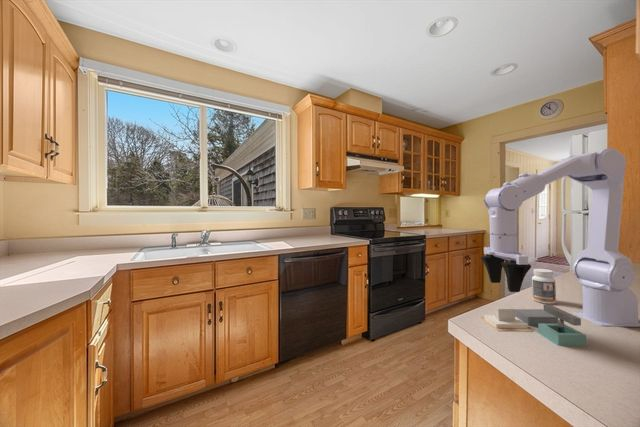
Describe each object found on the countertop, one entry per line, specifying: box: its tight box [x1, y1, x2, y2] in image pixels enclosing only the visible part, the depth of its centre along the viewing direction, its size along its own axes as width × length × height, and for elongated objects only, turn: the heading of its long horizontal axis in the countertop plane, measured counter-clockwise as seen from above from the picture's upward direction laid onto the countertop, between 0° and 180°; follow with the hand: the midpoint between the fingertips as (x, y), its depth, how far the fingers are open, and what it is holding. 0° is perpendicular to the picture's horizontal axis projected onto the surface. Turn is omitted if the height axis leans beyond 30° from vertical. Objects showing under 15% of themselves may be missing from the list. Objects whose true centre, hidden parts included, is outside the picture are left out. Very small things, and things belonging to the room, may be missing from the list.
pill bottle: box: [531, 268, 557, 305], centre depth 81 cm, size 6×6×10 cm
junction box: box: [514, 308, 558, 327], centre depth 67 cm, size 7×5×2 cm
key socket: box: [536, 323, 589, 347], centre depth 58 cm, size 6×6×2 cm
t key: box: [543, 303, 582, 333], centre depth 58 cm, size 8×2×6 cm, turn 175°
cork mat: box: [480, 316, 534, 332], centre depth 66 cm, size 8×8×1 cm
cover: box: [483, 306, 529, 328], centre depth 66 cm, size 7×5×4 cm
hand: (504, 286), depth 66 cm, fingers open, 7 cm apart
